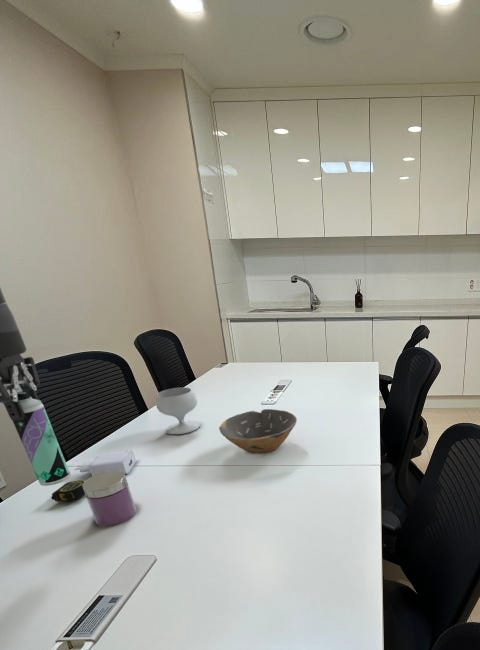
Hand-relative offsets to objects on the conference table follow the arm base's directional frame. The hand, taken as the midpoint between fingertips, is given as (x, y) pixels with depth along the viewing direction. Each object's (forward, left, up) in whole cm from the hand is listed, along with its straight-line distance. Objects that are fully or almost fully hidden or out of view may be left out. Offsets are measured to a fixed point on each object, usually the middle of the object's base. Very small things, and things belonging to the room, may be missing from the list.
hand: (27, 413), depth 79 cm
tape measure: (-9, +20, -32) cm, 39 cm away
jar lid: (+6, +7, -21) cm, 23 cm away
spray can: (0, 0, -16) cm, 16 cm away
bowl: (+43, +35, -32) cm, 64 cm away
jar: (+6, +7, -32) cm, 33 cm away
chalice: (+13, +63, -32) cm, 72 cm away
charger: (-5, +34, -32) cm, 47 cm away
